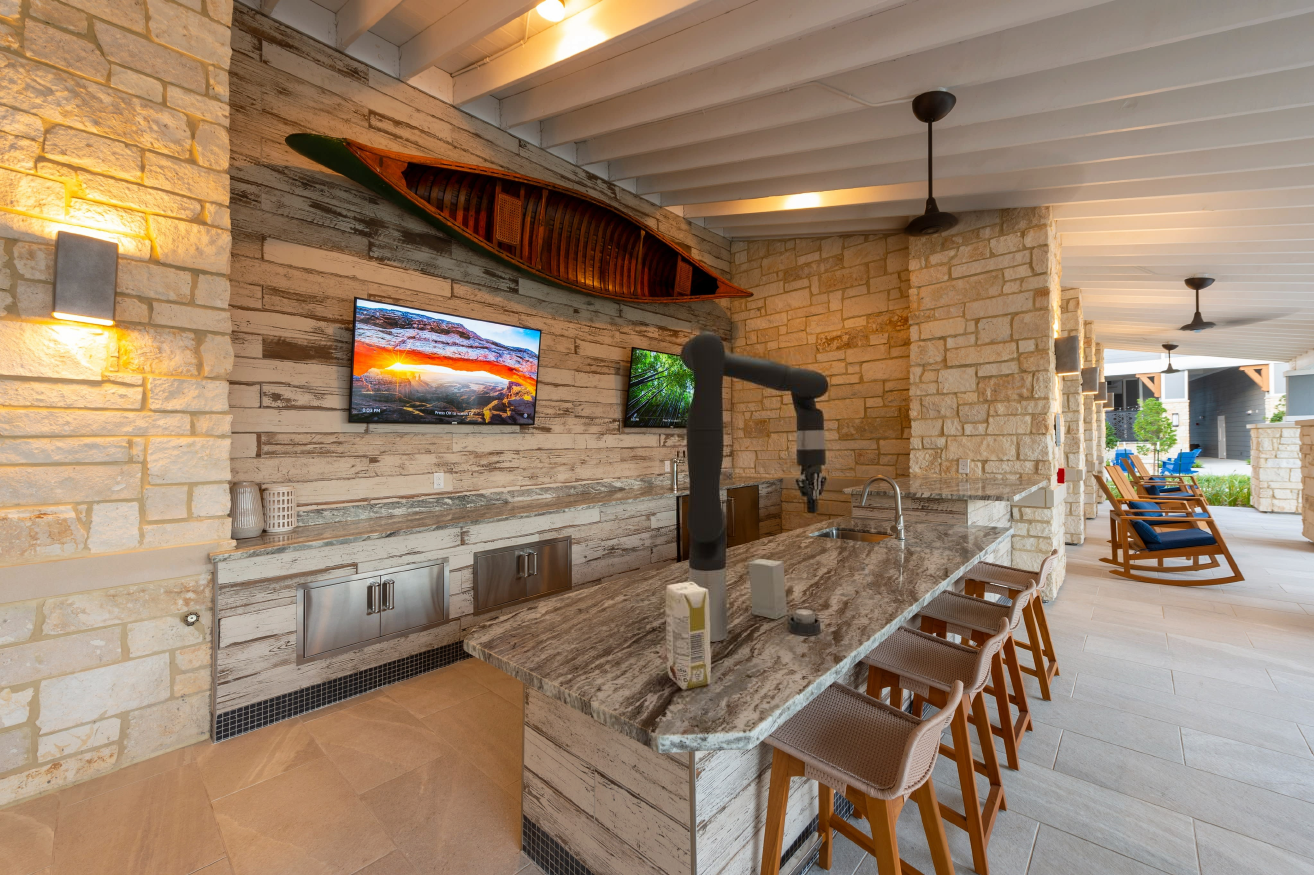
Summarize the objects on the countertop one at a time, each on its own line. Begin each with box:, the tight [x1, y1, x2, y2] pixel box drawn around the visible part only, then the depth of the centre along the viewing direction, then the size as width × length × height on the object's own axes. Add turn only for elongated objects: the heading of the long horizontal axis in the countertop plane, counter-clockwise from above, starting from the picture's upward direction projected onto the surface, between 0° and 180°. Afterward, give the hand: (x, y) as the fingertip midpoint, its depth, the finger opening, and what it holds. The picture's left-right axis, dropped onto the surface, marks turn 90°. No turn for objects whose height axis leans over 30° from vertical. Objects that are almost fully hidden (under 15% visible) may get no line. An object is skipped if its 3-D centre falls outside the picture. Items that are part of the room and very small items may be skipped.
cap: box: [793, 608, 816, 625], centre depth 133 cm, size 6×5×4 cm
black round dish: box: [787, 615, 821, 637], centre depth 133 cm, size 8×8×3 cm
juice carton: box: [665, 581, 712, 690], centre depth 107 cm, size 8×9×19 cm
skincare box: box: [748, 558, 788, 620], centre depth 146 cm, size 8×6×15 cm
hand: (812, 512), depth 140 cm, fingers closed
